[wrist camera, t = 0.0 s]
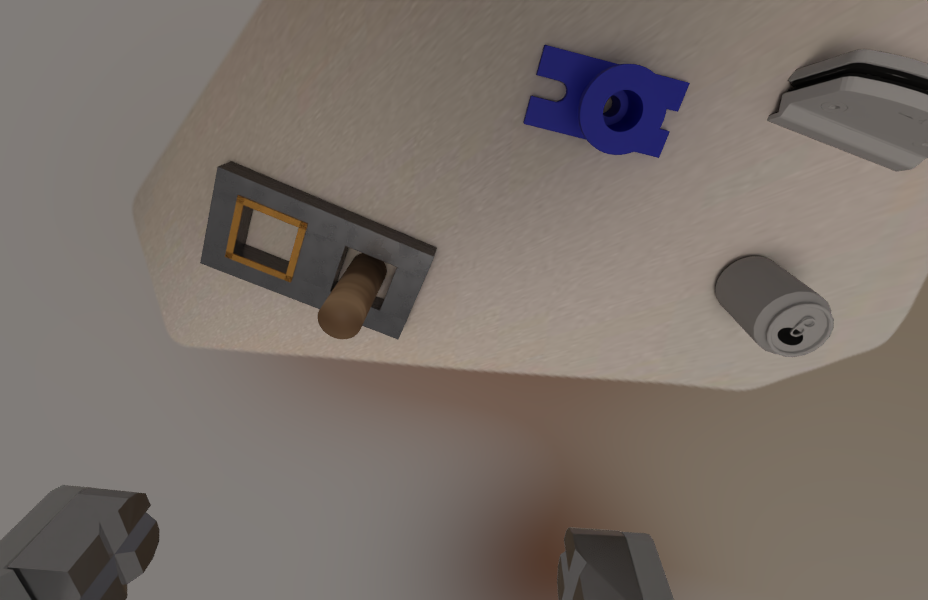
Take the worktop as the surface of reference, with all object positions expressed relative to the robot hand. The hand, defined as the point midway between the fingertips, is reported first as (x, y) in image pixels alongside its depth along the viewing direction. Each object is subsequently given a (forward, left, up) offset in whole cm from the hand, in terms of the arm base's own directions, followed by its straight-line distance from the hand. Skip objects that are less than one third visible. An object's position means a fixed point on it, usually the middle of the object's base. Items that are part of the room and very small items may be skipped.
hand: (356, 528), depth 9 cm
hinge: (-6, +40, -48) cm, 63 cm away
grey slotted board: (+14, -17, -48) cm, 53 cm away
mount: (-5, +14, -48) cm, 51 cm away
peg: (+16, -11, -48) cm, 52 cm away
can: (+14, +35, -48) cm, 61 cm away
